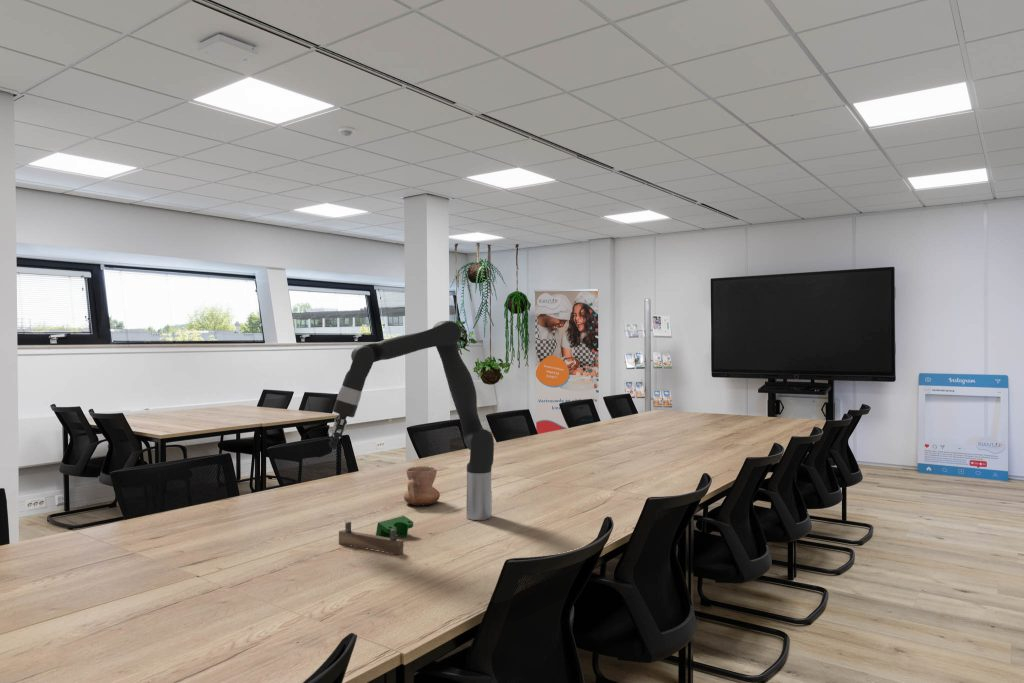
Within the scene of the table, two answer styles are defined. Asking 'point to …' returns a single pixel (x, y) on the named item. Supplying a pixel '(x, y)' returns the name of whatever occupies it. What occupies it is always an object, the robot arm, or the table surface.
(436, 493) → the ceramic jug
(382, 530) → the clamp
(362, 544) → the bar
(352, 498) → the table surface
